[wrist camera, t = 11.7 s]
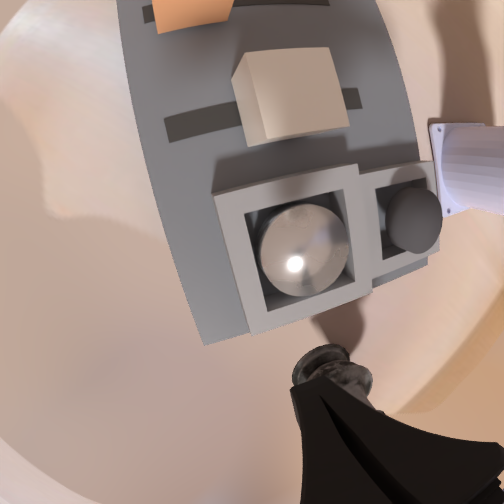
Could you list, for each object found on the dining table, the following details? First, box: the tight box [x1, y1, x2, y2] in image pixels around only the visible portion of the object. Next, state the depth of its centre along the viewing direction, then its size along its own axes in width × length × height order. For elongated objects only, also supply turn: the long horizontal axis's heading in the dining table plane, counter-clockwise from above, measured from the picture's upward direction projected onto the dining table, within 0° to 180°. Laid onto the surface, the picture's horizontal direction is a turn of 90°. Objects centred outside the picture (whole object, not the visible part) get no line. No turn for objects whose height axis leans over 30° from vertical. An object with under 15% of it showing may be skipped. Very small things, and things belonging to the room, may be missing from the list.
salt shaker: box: [292, 344, 385, 414], centre depth 17 cm, size 6×6×12 cm
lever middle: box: [231, 47, 350, 147], centre depth 13 cm, size 4×4×4 cm
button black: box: [385, 187, 443, 254], centre depth 16 cm, size 4×4×1 cm
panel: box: [117, 0, 439, 346], centre depth 15 cm, size 18×26×4 cm
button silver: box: [255, 202, 349, 296], centre depth 16 cm, size 5×5×2 cm
